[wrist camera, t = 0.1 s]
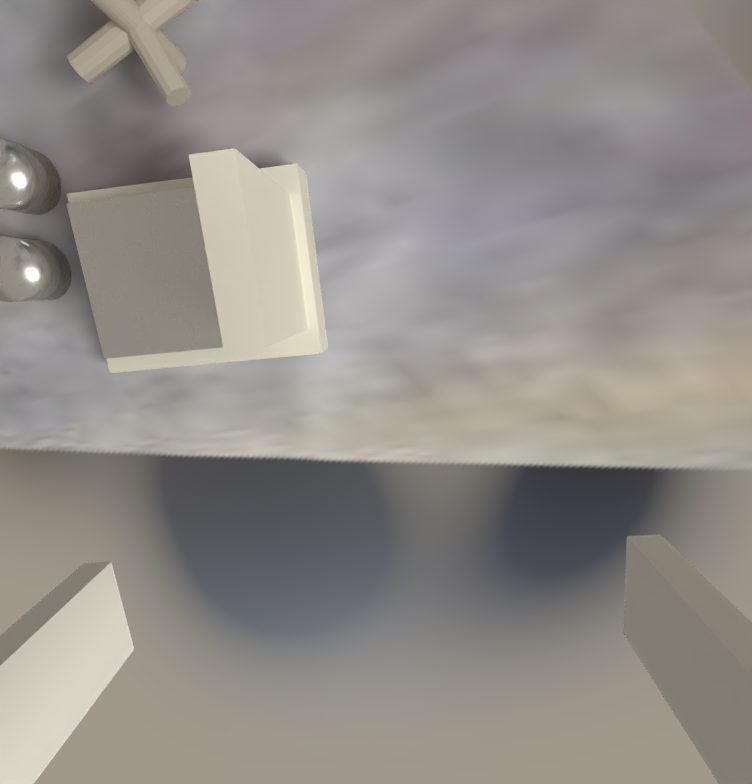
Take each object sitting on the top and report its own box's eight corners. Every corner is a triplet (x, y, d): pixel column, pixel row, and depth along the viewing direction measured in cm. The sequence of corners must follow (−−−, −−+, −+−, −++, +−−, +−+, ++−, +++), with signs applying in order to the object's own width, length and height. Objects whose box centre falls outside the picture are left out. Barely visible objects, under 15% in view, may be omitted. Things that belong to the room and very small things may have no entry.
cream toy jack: (161, 159, 35) (70, 111, 26) (86, 37, 34) (-43, -64, 24) (264, 86, 34) (206, 5, 24) (189, -46, 32) (96, -192, 22)
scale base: (93, 201, 36) (-91, 149, 23) (306, 173, 35) (243, 101, 21) (131, 366, 40) (-11, 407, 26) (328, 348, 38) (285, 381, 24)
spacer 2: (9, 244, 38) (-37, 239, 34) (63, 237, 37) (23, 231, 34) (25, 303, 39) (-17, 304, 35) (77, 297, 39) (41, 298, 35)
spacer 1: (-5, 154, 36) (-54, 137, 32) (52, 146, 36) (9, 128, 32) (13, 218, 37) (-33, 210, 33) (68, 211, 37) (28, 202, 33)
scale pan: (76, 206, 32) (66, 203, 31) (223, 187, 31) (217, 184, 30) (112, 356, 34) (103, 358, 33) (249, 343, 33) (244, 345, 32)
